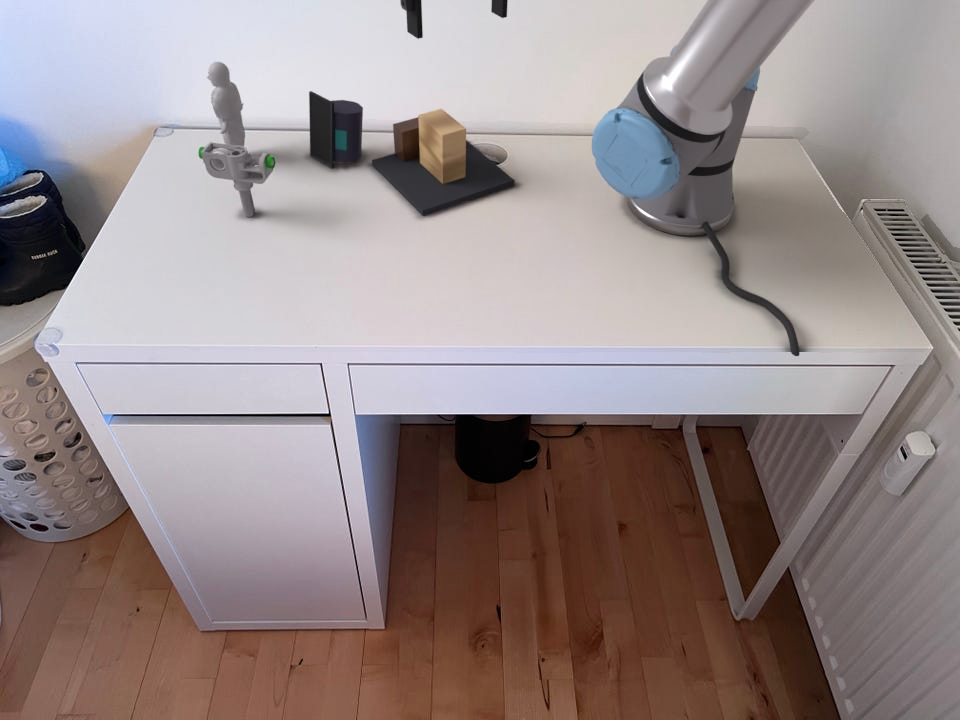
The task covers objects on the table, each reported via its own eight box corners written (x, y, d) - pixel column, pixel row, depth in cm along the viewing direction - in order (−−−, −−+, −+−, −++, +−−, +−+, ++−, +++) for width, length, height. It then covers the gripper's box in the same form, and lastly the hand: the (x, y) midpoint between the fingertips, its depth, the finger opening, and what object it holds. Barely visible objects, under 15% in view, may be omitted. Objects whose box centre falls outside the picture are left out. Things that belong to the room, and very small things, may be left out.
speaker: (321, 172, 114) (318, 106, 108) (309, 156, 118) (306, 91, 111) (368, 165, 117) (368, 101, 111) (355, 150, 121) (354, 87, 114)
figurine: (236, 140, 121) (214, 48, 110) (259, 142, 121) (240, 50, 110) (215, 171, 114) (190, 75, 103) (240, 173, 114) (218, 77, 103)
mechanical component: (279, 224, 105) (267, 161, 98) (211, 214, 106) (194, 151, 99) (287, 213, 107) (276, 150, 100) (220, 203, 108) (204, 140, 101)
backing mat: (514, 185, 113) (514, 180, 113) (422, 216, 107) (422, 210, 106) (459, 140, 123) (459, 134, 122) (372, 165, 116) (371, 159, 116)
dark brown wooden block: (451, 152, 118) (451, 122, 114) (407, 165, 115) (406, 135, 111) (438, 140, 120) (438, 111, 117) (394, 153, 117) (392, 123, 114)
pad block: (465, 177, 113) (466, 128, 107) (442, 184, 111) (442, 135, 106) (442, 156, 117) (441, 108, 111) (419, 163, 115) (418, 114, 110)
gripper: (524, -180, 93) (516, -2, 108) (345, -159, 83) (363, 34, 98) (562, -169, 89) (547, 15, 104) (378, -146, 79) (391, 54, 94)
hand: (458, 24), depth 101 cm, fingers open, 13 cm apart
